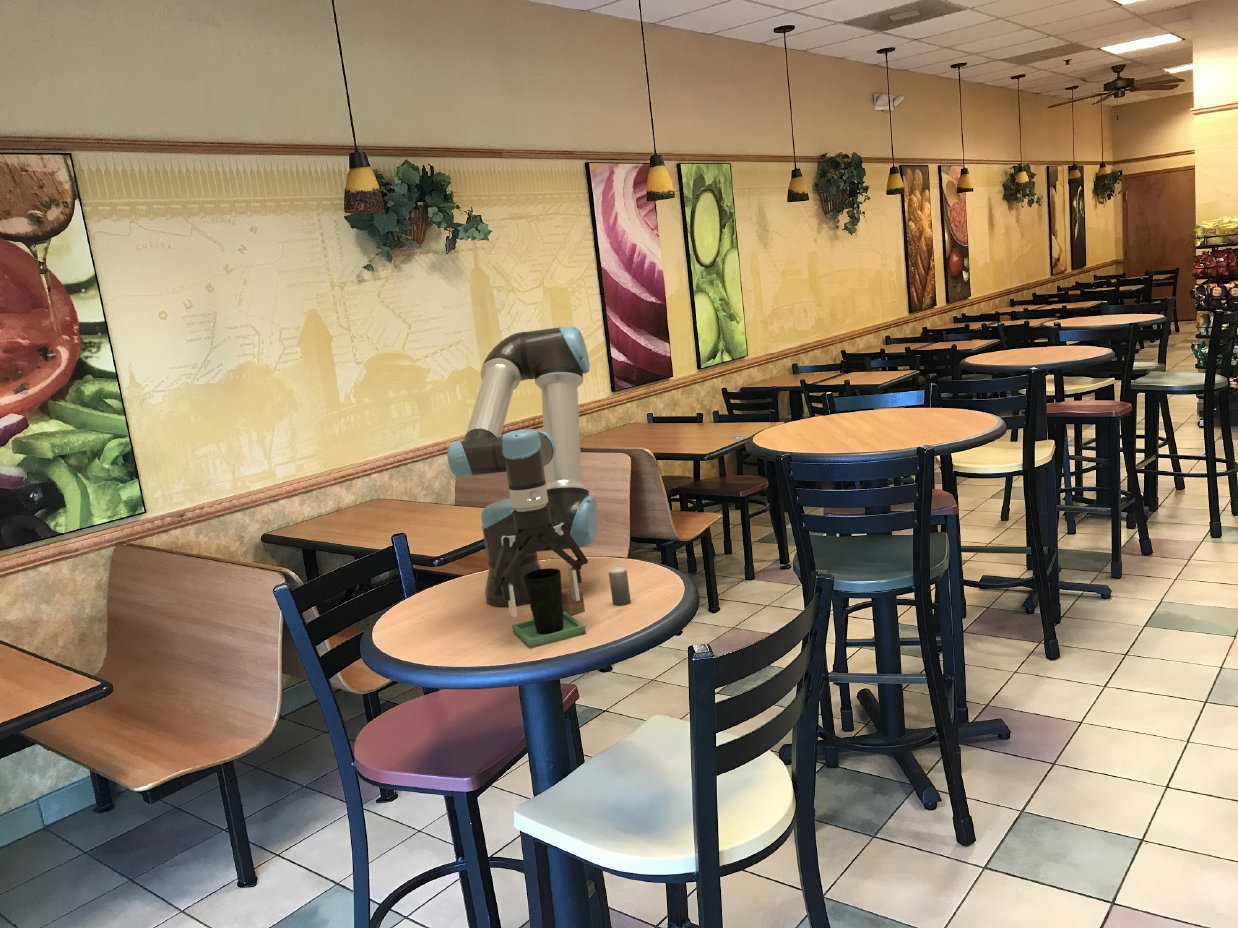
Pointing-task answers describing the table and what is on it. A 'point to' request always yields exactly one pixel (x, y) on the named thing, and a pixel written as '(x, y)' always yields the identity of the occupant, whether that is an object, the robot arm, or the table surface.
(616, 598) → the pepper shaker
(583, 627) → the tray
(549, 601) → the cup
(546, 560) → the table surface
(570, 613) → the walnut block
